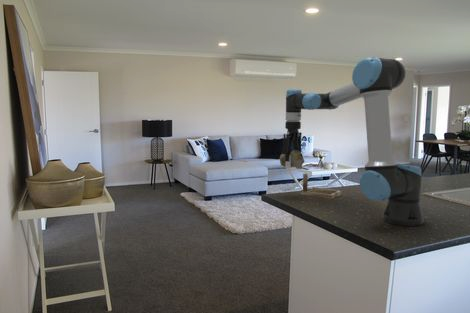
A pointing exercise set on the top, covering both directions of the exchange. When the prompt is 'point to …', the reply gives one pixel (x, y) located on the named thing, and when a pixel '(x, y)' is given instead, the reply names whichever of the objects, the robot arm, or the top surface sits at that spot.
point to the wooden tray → (318, 190)
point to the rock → (293, 159)
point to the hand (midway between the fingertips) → (291, 166)
